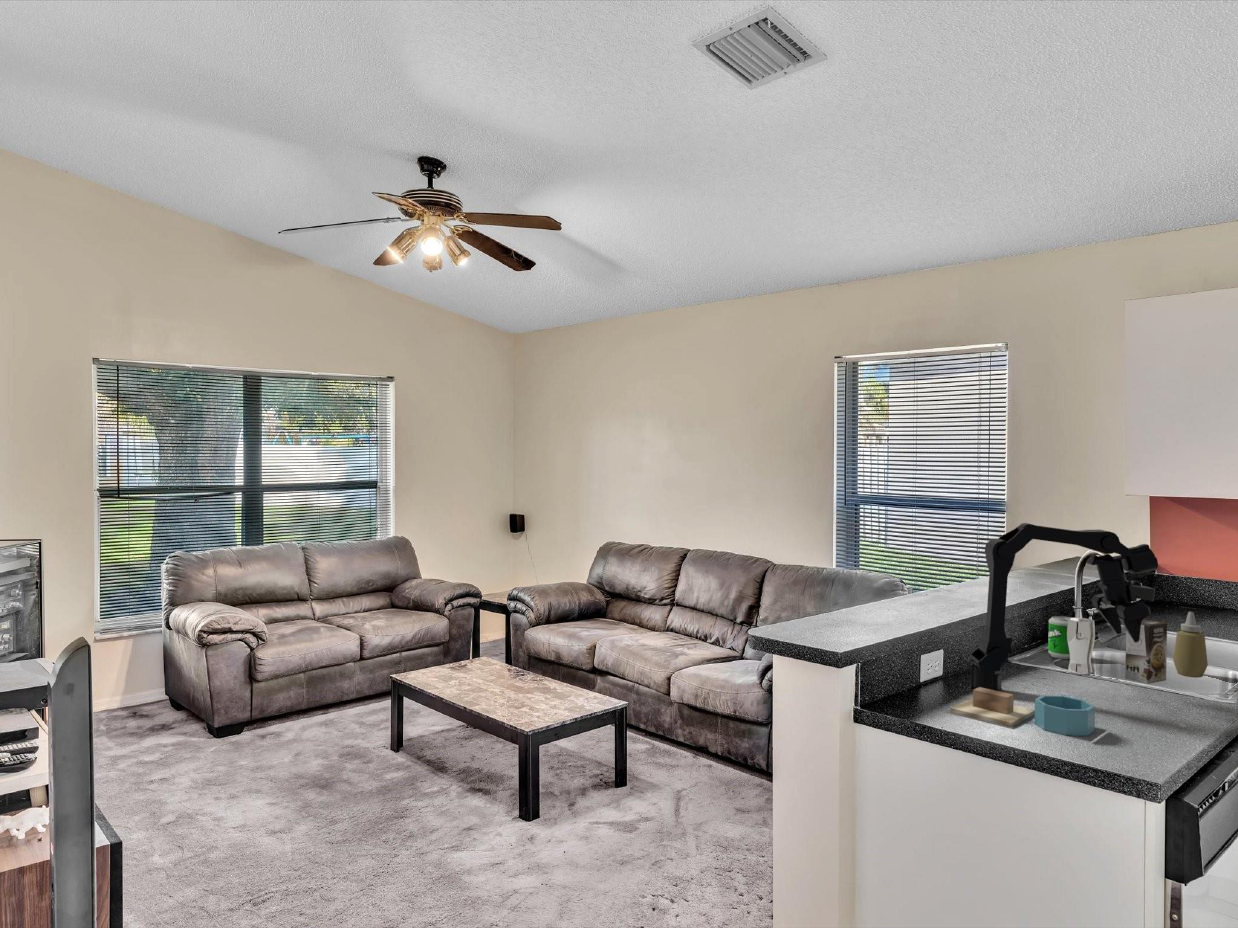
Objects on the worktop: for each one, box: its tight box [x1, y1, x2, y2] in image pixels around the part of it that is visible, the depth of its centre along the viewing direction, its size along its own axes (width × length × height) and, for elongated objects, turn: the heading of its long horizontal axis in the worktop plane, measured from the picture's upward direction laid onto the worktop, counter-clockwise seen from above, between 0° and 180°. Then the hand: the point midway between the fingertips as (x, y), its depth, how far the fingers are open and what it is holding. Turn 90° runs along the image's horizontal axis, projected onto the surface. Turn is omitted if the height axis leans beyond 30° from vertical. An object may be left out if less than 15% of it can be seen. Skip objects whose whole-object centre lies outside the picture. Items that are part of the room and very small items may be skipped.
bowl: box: [1034, 694, 1096, 737], centre depth 183 cm, size 11×11×6 cm
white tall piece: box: [1067, 616, 1096, 676], centre depth 232 cm, size 7×7×15 cm
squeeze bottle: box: [1172, 611, 1209, 679], centre depth 230 cm, size 8×8×18 cm
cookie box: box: [1124, 618, 1168, 685], centre depth 225 cm, size 9×6×16 cm
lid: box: [950, 687, 1035, 727], centre depth 192 cm, size 14×14×5 cm
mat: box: [945, 708, 1035, 730], centre depth 192 cm, size 16×16×1 cm
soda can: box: [1047, 615, 1070, 660], centre depth 250 cm, size 8×8×12 cm
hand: (1127, 637), depth 207 cm, fingers open, 9 cm apart
